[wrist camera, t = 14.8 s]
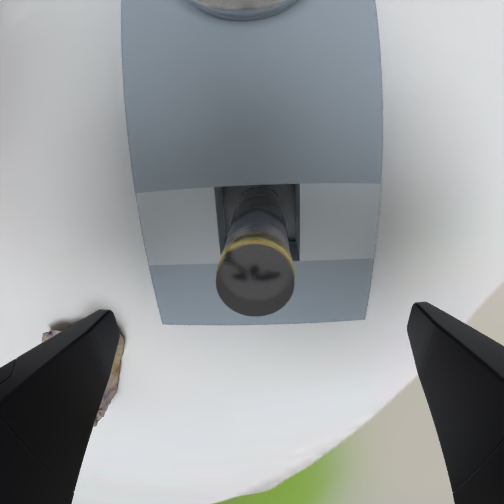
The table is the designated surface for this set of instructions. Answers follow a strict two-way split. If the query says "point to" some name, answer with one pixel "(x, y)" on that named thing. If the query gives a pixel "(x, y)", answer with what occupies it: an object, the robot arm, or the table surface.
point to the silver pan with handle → (242, 8)
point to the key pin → (256, 257)
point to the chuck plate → (255, 146)
